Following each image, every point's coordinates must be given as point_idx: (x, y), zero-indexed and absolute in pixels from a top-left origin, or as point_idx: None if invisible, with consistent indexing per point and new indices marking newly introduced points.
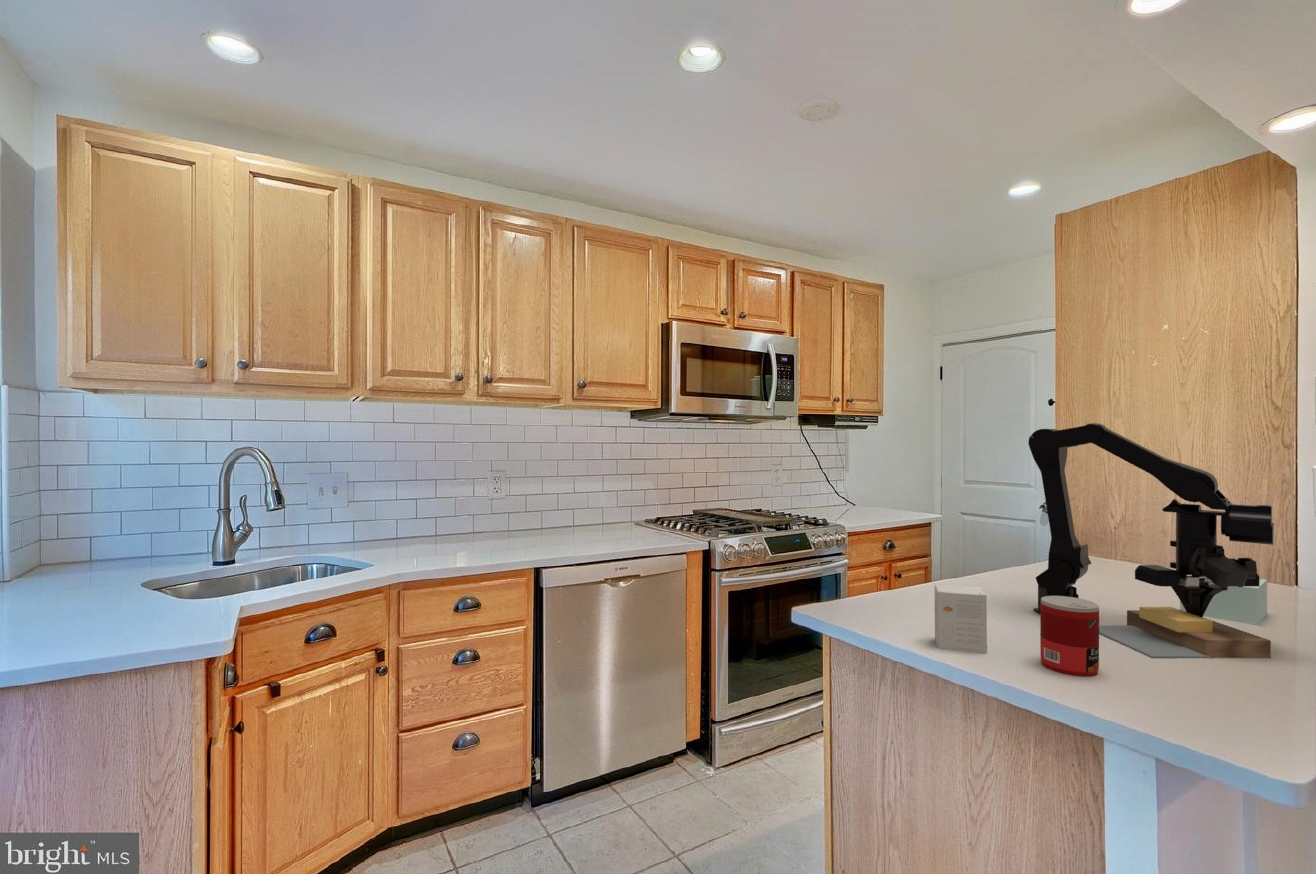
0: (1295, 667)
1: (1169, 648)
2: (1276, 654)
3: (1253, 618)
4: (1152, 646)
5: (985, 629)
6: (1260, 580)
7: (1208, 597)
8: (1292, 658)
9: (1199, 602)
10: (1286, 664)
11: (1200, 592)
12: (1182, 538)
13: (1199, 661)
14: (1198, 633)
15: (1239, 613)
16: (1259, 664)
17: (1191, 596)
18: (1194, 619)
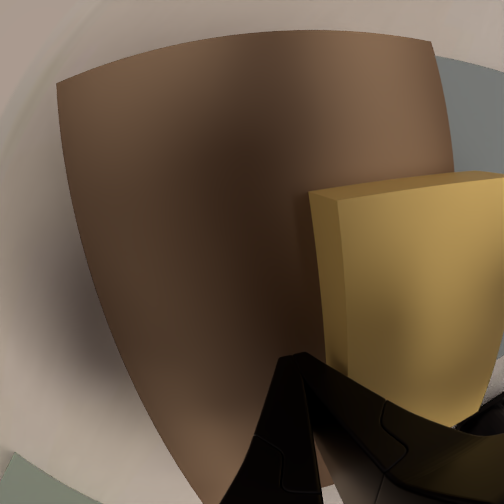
0: (90, 13)
1: (466, 144)
2: (40, 172)
3: (15, 468)
4: (496, 164)
5: None
6: None
7: (274, 498)
8: (19, 133)
9: (352, 435)
10: (93, 37)
11: (463, 479)
12: None
13: (422, 37)
14: (408, 151)
15: (37, 488)
16: (210, 6)
17: (467, 436)
18: (437, 224)
